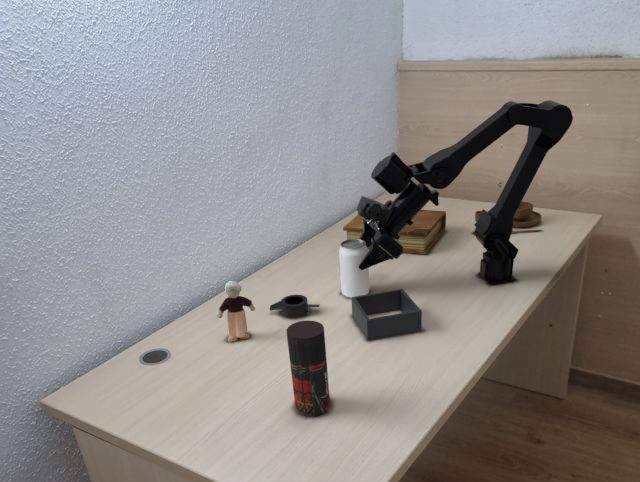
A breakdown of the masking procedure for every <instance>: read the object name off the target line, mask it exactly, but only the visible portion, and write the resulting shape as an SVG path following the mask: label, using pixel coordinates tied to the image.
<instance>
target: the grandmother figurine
mask: <svg viewBox="0 0 640 482" xmlns="http://www.w3.org/2000/svg"><path fill="white" fill-rule="evenodd" d="M224 291H225V293H226V295H227V297H226V298H225V299H224V300H223V301H222V303H221V305H220V306H219V308H218V309H219V310H218V311H217V312H218V313H217V318H218V319H222V318H223V316H224V315H223V314H224V312H226V311H227V314H226V316H227V330H228V337H227V342H231V343H232V342H236V341H238V338H239V339H240V340H247V339H249V338H250V334H249V333H247V332H248V326H247V325H248V324H247V323H248V322H247V317H246V311H245V309H244V307H248V308H249V309H250V311H251V312H254V311H255V310H256V307H255V306H254V303H253V301H252V300H251V299H249V298H248V297H245V296H242V295H240V293H241V291H242V285H241V284H239V282H238V281H235V280H229V281H227V282H226V283H225V285H224Z"/></svg>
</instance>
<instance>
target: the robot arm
mask: <svg viewBox="0 0 640 482" xmlns="http://www.w3.org/2000/svg"><path fill="white" fill-rule="evenodd" d="M573 120H574V116H573V112H572V110H571V108H570V107H569V106H567V105H565V104H562V103H559V102H557V101H554V100H549V99H548V100H544V101H542V102H540V103H533V102H517V101H514V100H510V101H507V102H505V103H504V104H503V105H502V106H501V107H500V109H498V110H497V111H496V112H494V113H493V114H492V115H490V116H488V118H487V119H485V120H484V121H483V122H481V123H480V124H479V125H478V126H476V127H475V128H474V129H472V131H470V132H469V133H468V134H467V135H465V136H463V138H461V139H460V140H458V141H457V142H456V143H454V144H453V145H451V146H448V147H445V148H443V149H440V150H438V151H436V152H435V153H432V154H431V155H429V156H428V157H426V158H425V159H424V160H423V161H421V162H417V163H413V164H409V165H407V164H406V163H405V162H404V161H403V160H402V159H401V158H400V156H399V155H398V154H397V153H396V152H395V151H391V153H390V154H389V155H387V156H386V157H384V158H383V159H382V160H380V161H379V162H377V164H376V165H375V166H374V168H373V170H372V172H371V174H370V178H371V179H372V180H374V182H376V183H377V184H378V185H379V186H380V187H381V188H383V190H385V191H386V192H387V193H388V194H389V195H397V196H396V197H395V198H394V199H393V200H392V199H389V200H387V201H386V202H385V203H382V202H380V201H378V200H375V199H372V198H370V197H367V196H364V195H362V196H361V197H360V199H359V202H358V203H357V207H356V209H355V210H356V212H357V215H360V216H362V217H364V218H365V219H366V220H365V219H363V228H364V229H363V232H362V234H361V236H360V238H359V239H360V240H363V241H365V242H366V246H367V248H368V247H370V246H371V245H372V247H371V249H368V253H367V254H366V256H365V257H364V259H363V260H362V262H361V263H360V265H359V266H358V267H359V269H361V270H364V269H366V268H369V269H370V268H371V267H373V266H375V265H378V264H380V263H384V262H387V261H389V260H394V259H395V260H398V259H399V258H400V256H401V255H403V254H404V252H403V247H402V245H401V243H400V241H398V239H399V238H400V236H399V233H400V232H401V231H402V230H403V229H404V228H405V227H406V226H407V224H408V225H410V226H411V225H412V224H413V221H412V219H413V218H414V217H415V216H416V215H417V214H418V212H419V211H420V210H423V208H424V207H425V206H426V205H427V204H428V203H429V202H431V203H432V204H433V205H434V206H436V207H437V206H440V203H439V196H440V192H439V191H438V190H444V189H446V188H447V187H449V186H450V185H451V184H452V183H453V182H454V181H455V180H456V179H457V178H458V177H459V175H460V174H461V173H462V172H463V170H464V168H465V166H466V165H467V164H468V163H469V162H470V161H471V160H473V159H474V158H475V157H477V156H479V154H480V153H482V152H483V151H485V150H486V149H487V148H488V147H489V146H491V145H492V144H494V142H496V141H497V140H499V138H501V137H503V136H504V135H505V134H507V132H509V131H510V130H512V129H513V128H514V127H515V126H525V127H528V128H527V129H528V130H527V136H526V137H527V138H526V143H525V145H524V147H523V149H522V152H521V153H520V155H519V156H518V158H517V161H516V162H515V165H514V167H513V169H512V171H511V173H510V175H509V177H508V178H507V181H506V183H505V185H504V187H503V188H502V191H501V193H500V194H499V197H498V198H497V200H496V202H495V204H494V206H492V207H491V208H490V209H489V210H486V209H484V208H483V209H482V210H480V211H481V214H480V217H479V219H478V221H477V222H476V221H475V223H474V224H473V226H474V227H475V229H474V231H475V234H474V236H475V239H476V240H477V241H478V242H479V243H480V245H481V246H482V247H483V249H485V250H486V251H483V252H482V258H481V259H480V265H479V272H478V273H477V275H478V276H479V277H480V278H481V279H483V281H485V282H486V283H487V284H488V285H491V286H492V285H497V284H503V283H509V282H514V281H516V277H515V276H514V275H513V272H514V260H515V259H516V258H517V255H518V253H519V251H520V250H519V249H518V248H517V247H516V246H515V244H513V243H512V242H511V240H510V238H511V236H512V234H513V233H512V231H514V230H513V229H514V227H513V222H514V215H515V213H516V211H517V209H518V207H519V205H520V203H521V201H523V200H524V197H525V195H526V193H527V192H528V190H529V188H530V186H531V184H532V182H533V180H534V178H535V176H536V174H537V173H538V171H539V169H540V168H541V165H542V163H543V161H544V159H545V158H546V155H547V154H548V152H549V151H550V150H551V149H553V148H554V147H555V146H556V145H557V144H558V143H559V142H560V141H561V140H562V139H563V138H564V136H565V135H566V133H567V132H568V130H569V129H570V128H571V126H572V124H573ZM412 178H414V179H415V180H416V181H417V182H418V183H416V181H414V180H413V179H412ZM427 185H429V186H430V187H431V188H433V190H432V189H430V188H429V187H428V186H427Z"/></svg>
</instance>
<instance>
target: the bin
mask: <svg viewBox="0 0 640 482" xmlns="http://www.w3.org/2000/svg"><path fill="white" fill-rule="evenodd" d="M350 299H351V315H352V318H353V320H354V321H355V323H356V324H357V326H358V328H359V329H360V330H361V332H362V334H363V336H364V337H365V339H366V340H367V341H373V340H380V339H384V338H389V337H395V336H400V335H406V334H412V333H417V332H422V326H423V324H422V323H423V322H422V321H423V319H422V318H423V315H422V314H423V311H422V309H421V308H420V307H419V306H418V304H416V303H415V301H414V300H413V299H412V298H411V297H410V296H409V295H408V293H407V292H406V291H405V290H404V288H397V289H392V290H385V291H381V292H374V293H368V294H367V295H362V296H356V297H351V298H350ZM398 310H400V311H401V312H400V313H395V314H390V315H384V316H377V317H372V318H370V317H369V315H374V314H380V313H387V312H391V311H392V312H393V311H398Z"/></svg>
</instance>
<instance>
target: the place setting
mask: <svg viewBox="0 0 640 482" xmlns="http://www.w3.org/2000/svg"><path fill="white" fill-rule="evenodd" d="M481 211H482V210H476V211H475V212H474V220H475V223H476V222H477V221H478V219H479V217H480V214H481ZM541 220H542V214H541V213H539V212H538V211H535V210H534V204H533V203H532V202H529V201H524V200H522V201H521V203H520V205H519V207H518V209H517V211H516V213H515V215H514V222H513V228H518V229H519V228H520V229H521V228H529V227H534V226H535V225H537V224H539V223H540V222H541ZM541 231H542V230H541V229H529V230H512V233H511V234H516V233H519V232H522V233H523V232H541ZM472 234H473V235H475V230H474V231H473V232H472Z"/></svg>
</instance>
